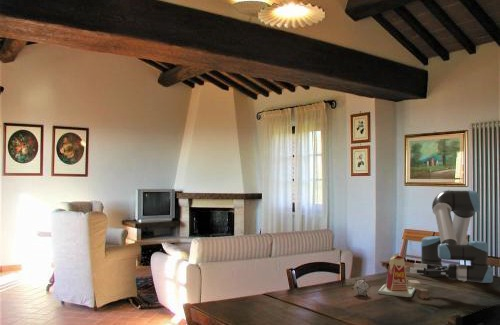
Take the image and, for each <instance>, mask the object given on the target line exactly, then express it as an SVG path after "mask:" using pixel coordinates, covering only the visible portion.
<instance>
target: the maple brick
mask: <svg viewBox="0 0 500 325" xmlns="http://www.w3.org/2000/svg"><path fill="white" fill-rule="evenodd" d="M407 286H408V287H414V288H415V291H417V289H421V282H420V281H419V280H410V279H409V280H407Z"/></svg>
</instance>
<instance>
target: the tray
mask: <svg viewBox="0 0 500 325" xmlns="http://www.w3.org/2000/svg"><path fill="white" fill-rule="evenodd" d="M408 291H409V293H398V292H390V291H389V290H387V284H386V283H384V284H383V285H382V286H381V287H380V288H379V289H378V294H379V295H380V294H381V295H385V296H386V295H387V296H388V295H390V296H394V297H395V296H397V297H404V298H412V297H413V295H414V293H415V292H416V290H415V288H414V287H408Z"/></svg>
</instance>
